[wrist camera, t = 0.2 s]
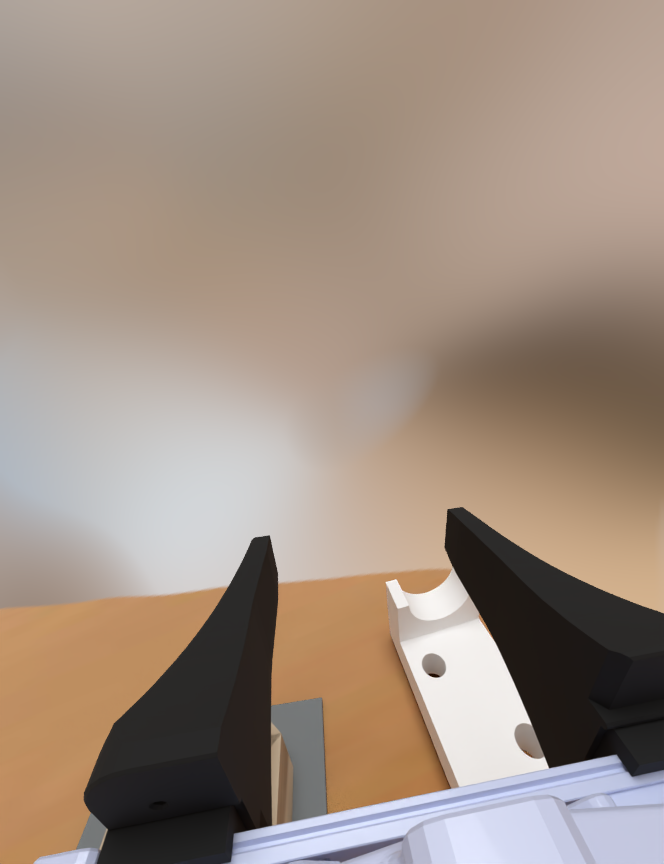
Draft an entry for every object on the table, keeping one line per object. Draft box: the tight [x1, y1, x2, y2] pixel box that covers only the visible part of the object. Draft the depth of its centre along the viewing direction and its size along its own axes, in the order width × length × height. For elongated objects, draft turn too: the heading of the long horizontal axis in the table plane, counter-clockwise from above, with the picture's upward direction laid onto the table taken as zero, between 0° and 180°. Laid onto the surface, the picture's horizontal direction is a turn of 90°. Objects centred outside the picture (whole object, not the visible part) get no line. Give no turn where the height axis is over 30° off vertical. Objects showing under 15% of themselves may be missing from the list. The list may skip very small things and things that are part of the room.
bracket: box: [386, 567, 549, 789], centre depth 24 cm, size 13×7×8 cm, turn 12°
